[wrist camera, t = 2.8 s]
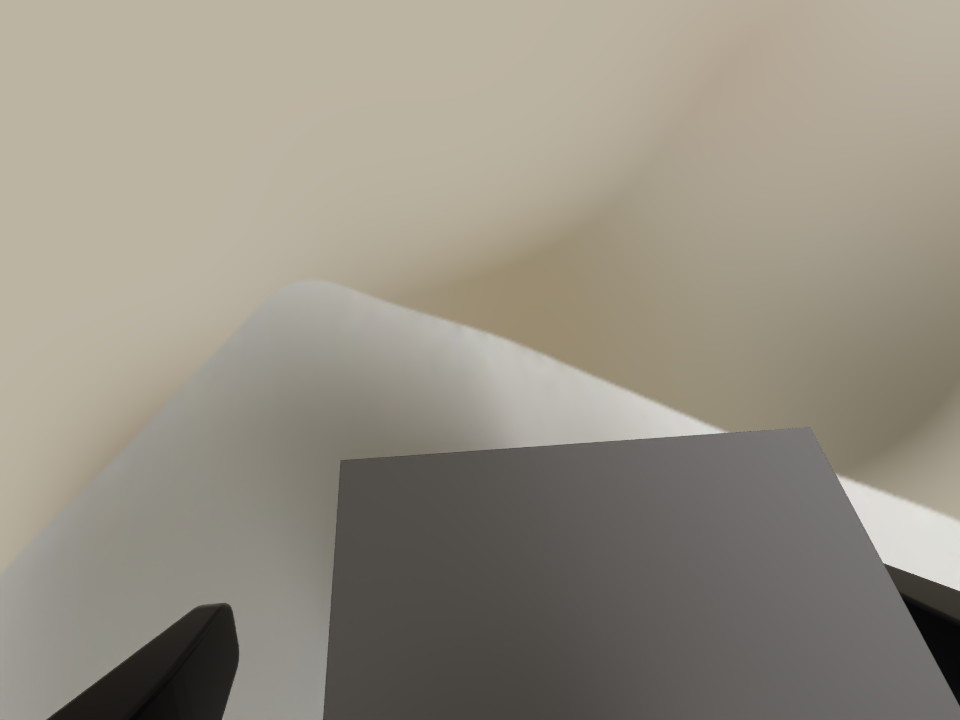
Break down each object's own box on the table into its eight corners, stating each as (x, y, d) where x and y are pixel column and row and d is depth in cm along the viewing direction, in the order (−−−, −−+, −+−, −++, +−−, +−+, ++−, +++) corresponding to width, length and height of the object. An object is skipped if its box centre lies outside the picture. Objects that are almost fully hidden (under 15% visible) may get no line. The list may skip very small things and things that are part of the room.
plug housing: (591, 743, 12) (1197, 1148, 2) (415, 770, 11) (276, 1438, 2) (560, 574, 14) (809, 426, 4) (412, 589, 13) (340, 459, 4)
